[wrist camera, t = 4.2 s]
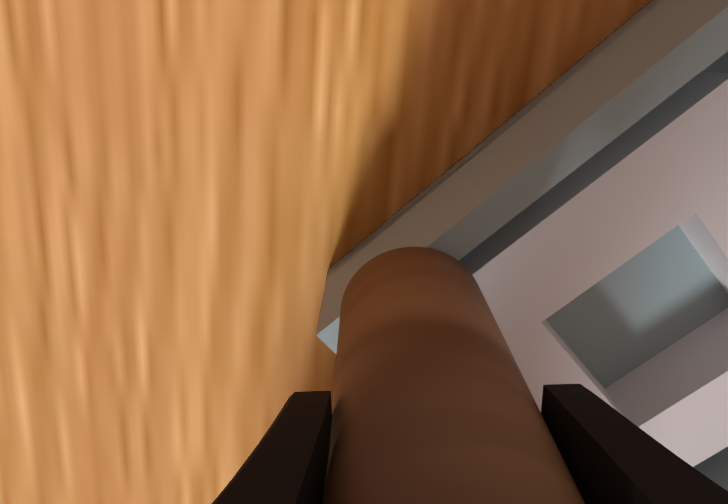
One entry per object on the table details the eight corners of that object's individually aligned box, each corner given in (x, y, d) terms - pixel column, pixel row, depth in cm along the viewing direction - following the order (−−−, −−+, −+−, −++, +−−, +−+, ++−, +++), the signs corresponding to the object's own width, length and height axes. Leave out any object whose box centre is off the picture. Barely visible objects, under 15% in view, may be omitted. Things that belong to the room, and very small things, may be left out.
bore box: (562, 510, 22) (608, 619, 18) (327, 270, 18) (316, 335, 14) (902, 304, 19) (1057, 378, 14) (697, -38, 15) (825, -72, 11)
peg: (404, 398, 15) (447, 767, 7) (310, 309, 14) (244, 624, 6) (512, 318, 14) (691, 639, 6) (419, 216, 13) (499, 449, 5)
